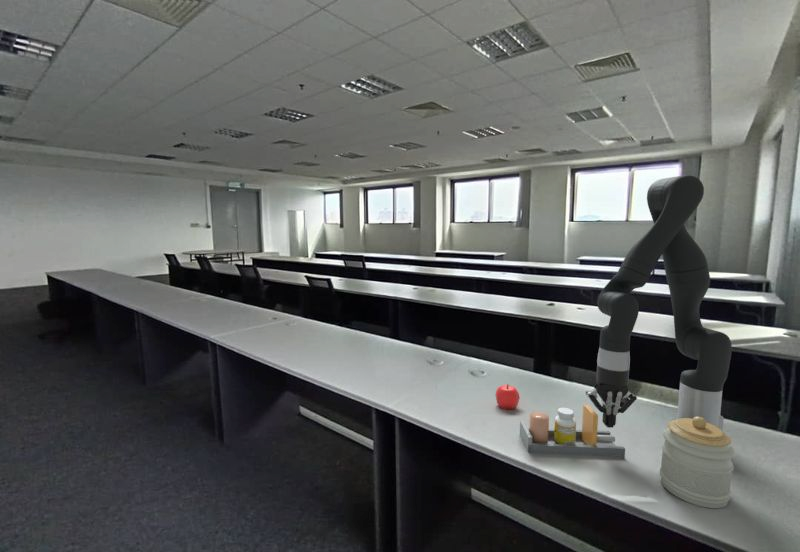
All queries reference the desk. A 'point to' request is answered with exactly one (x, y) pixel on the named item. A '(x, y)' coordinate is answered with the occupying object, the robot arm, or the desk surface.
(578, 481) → the desk surface
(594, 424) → the pusher plate
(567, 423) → the supplement bottle
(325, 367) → the desk surface
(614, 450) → the tray
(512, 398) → the apple
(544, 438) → the terracotta jar
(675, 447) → the jar
